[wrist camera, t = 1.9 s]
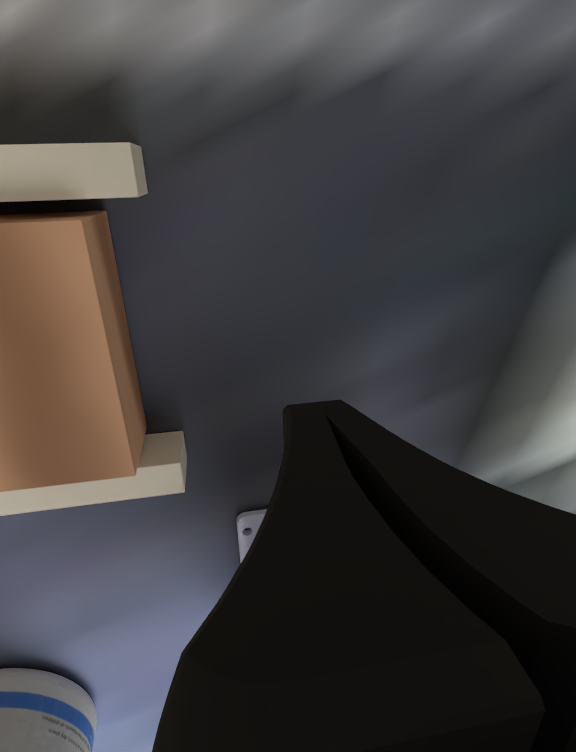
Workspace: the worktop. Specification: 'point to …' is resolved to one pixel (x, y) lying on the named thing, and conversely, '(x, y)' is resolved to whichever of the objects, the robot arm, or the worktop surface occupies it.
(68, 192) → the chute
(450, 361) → the worktop surface
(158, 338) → the worktop surface
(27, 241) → the block
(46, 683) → the supplement tub
